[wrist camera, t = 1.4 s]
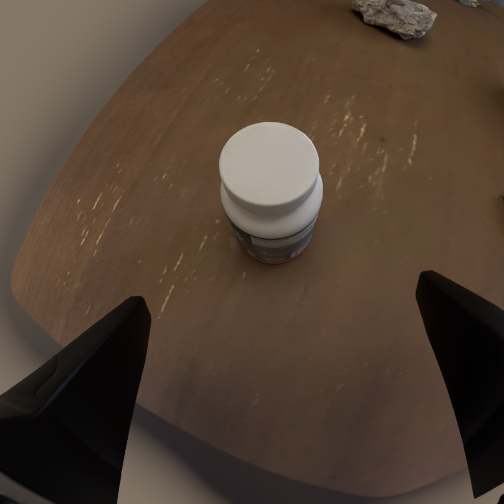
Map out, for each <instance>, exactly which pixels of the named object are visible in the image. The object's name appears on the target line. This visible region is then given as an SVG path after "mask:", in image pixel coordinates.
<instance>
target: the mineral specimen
mask: <svg viewBox="0 0 504 504" xmlns="http://www.w3.org/2000/svg"><path fill="white" fill-rule="evenodd" d="M351 1H352V4H353V9H355V10H357V11H359V12H361V13H362V15H363V17H364V22H365V23H367V24H370V25H378V26H382V27H385V28H386V29H388V30H390V31H391V32H395V33H397V34H399V35H400V37H401V38H402V39H405V40H407V39H410V38H421V37H422V36H423V35H424V34H425V33H426V32H428V31H429V29H430V28H431V27H432V24H433V23H434V18H435V17H436V15H437V14H436V13H434V12H432V11H430V9H428V8H427V7H426V6H424V5H422V4H418V3H415V2H412V1H409V0H351Z"/></svg>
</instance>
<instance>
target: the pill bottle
mask: <svg viewBox="0 0 504 504" xmlns="http://www.w3.org/2000/svg"><path fill="white" fill-rule="evenodd" d="M219 171H220V175H221V179H222V182H221V200H222V204H223V207H224V210H225V212H226V215H227V217H228V219H229V221H230V223H231V225H232V227H233V229H234V231H235V234H236V236H237V238H238V240H239V242H240V244H241V245H242V247H243V248H244V249H245V251H246V252H247V253H248V254H249V255H251V256H252V257H254V258H255V259H257V260H259V261H262V262H265V263H271V264H278V263H284V262H287V261H290V260H292V259H294V258H296V257H297V256H299V255H300V254H301V253H302V252H303V251H304V250H305V248H306V247H307V245H308V244H309V242H310V240H311V237H312V234H313V230H314V227H315V224H316V221H317V217H318V214H319V210H320V207H321V203H322V197H323V185H322V180H321V176H320V174H319V158H318V154H317V151H316V149H315V147H314V145H313V143H312V142H311V140H310V139H309V138H308V137H307V136H306V135H305V134H303V133H302V132H301V131H299V130H298V129H296V128H294V127H291V126H289V125H286V124H282V123H276V122H263V123H257V124H253V125H250V126H248V127H246V128H244V129H242V130H240V131H238V132H237V133H236V134H234V135H233V136H232V137H231V138H230V139H229V140H228V142H227V143H226V144H225V146H224V148H223V150H222V152H221V155H220V160H219Z"/></svg>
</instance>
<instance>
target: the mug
mask: <svg viewBox="0 0 504 504" xmlns="http://www.w3.org/2000/svg"><path fill="white" fill-rule="evenodd" d="M455 1H457V2H459V3H461V4H464V5H466V6H469V7H472V8H474V7H477V6H476V4H479V3H478V2H477V0H455ZM480 1H484V2H490V1H492V0H480ZM479 5H480V4H479Z"/></svg>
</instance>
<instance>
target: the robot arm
mask: <svg viewBox="0 0 504 504" xmlns="http://www.w3.org/2000/svg"><path fill="white" fill-rule="evenodd" d="M416 300H417V303H418V306H419V309H420V313H421V316H422V319H423V323H424V326H425V329H426V333H427V336H428V338H429V341H430V344H431V346H432V349H433V351H434V354H435V357H436V359H437V362H438V365H439V367H440V370H441V373H442V376H443V378H444V381H445V384H446V387H447V390H448V393H449V396H450V400H451V403H452V406H453V409H454V413H455V416H456V419H457V423H458V427H459V430H460V434H461V438H462V442H463V444H464V445H463V446H464V451H465V455H466V459H467V464H468V469H469V474H470V479H471V484H472V490H473V495H474V499H476V498H477V497H480V496H481V495H483V494H485V493H487V492H489V491H491V490H492V489H494V488H496V487H497V486H499V485H501V484H502V483H504V310H503V309H501V308H499V307H498V306H496V305H494V304H493V303H491V302H489V301H487V300H486V299H484V298H482V297H480V296H479V295H477V294H475V293H473V292H472V291H470V290H468V289H466V288H464V287H463V286H461V285H459V284H457V283H455V282H453V281H452V280H450V279H448V278H446V277H444V276H442V275H440V274H438V273H437V272H435V271H433V270H429V271H423V272H421V273H420V276H419V280H418V284H417V289H416ZM150 327H151V315H150V312H149V310H148V307H147V305H146V302H145V300H144V298H143V297H142V296H131V297H129V298H128V299H127V300H125V301H124V302H123V303H121V304H120V305H119V306H117V307H116V308H115V309H113V310H112V311H111V312H110V313H108V314H107V315H106V316H104V317H103V318H102V319H100V320H99V321H98V322H97V323H95V324H94V325H93V326H91V327H90V328H89V329H88V330H86V331H85V332H84V333H82V334H81V335H80V336H79V337H77V338H76V339H75V340H74V341H72V342H71V343H70V344H68V345H67V346H66V347H65V348H63V349H62V350H61V351H60V352H59V353H58V354H56V355H55V356H53V357H52V358H51V359H50V360H48V362H46V363H45V364H43V365H42V366H41V367H40V368H38V369H37V370H35V371H34V372H33V373H31V374H30V375H29V376H27V377H26V378H24V379H23V380H22V381H20V382H19V383H17V384H16V385H15V386H13V387H12V388H10V389H9V390H8V391H6V392H5V393H3V394H2V395H0V504H117V499H118V492H119V486H120V480H121V471H122V467H123V461H124V455H125V450H126V445H127V440H128V434H129V429H130V425H131V420H132V415H133V411H134V406H135V402H136V397H137V393H138V389H139V385H140V381H141V377H142V372H143V369H144V364H145V360H146V354H147V347H148V340H149V333H150ZM497 504H504V494H503V495H501V497H500V499H499V502H498V503H497Z"/></svg>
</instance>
